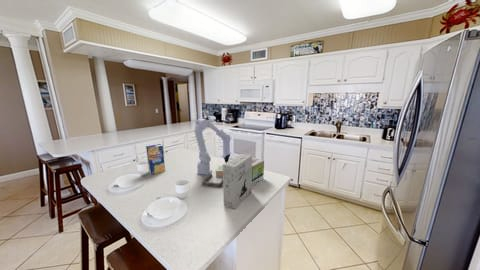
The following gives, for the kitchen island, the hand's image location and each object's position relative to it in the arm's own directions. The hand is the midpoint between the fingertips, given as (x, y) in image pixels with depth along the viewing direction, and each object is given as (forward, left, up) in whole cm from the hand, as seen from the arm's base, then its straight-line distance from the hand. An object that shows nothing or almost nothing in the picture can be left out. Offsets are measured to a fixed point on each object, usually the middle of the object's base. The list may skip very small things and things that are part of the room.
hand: (226, 162), depth 156 cm
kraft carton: (0, -14, -4) cm, 14 cm away
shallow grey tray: (0, -28, -4) cm, 28 cm away
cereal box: (+21, -45, -4) cm, 50 cm away
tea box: (+26, -20, -4) cm, 33 cm away
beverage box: (-54, -22, -4) cm, 58 cm away
